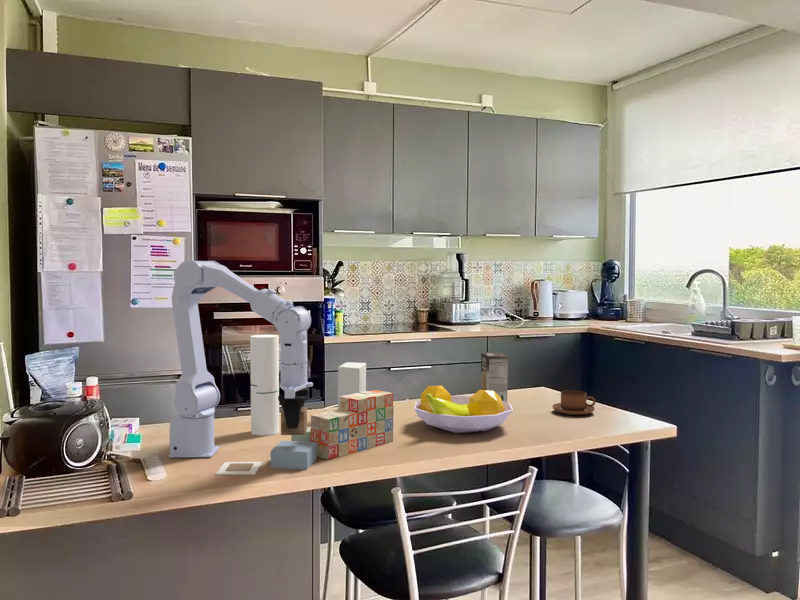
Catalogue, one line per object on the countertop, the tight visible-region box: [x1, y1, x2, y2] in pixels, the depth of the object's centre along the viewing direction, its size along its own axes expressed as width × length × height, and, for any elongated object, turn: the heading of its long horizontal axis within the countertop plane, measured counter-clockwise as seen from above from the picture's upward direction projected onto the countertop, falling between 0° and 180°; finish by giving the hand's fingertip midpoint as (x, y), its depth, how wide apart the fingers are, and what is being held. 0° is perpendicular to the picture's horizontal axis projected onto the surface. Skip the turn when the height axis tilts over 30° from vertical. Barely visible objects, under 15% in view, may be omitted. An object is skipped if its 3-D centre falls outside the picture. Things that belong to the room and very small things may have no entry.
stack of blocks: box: [310, 389, 394, 460], centre depth 154 cm, size 21×6×12 cm, turn 138°
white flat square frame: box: [215, 461, 263, 476], centre depth 138 cm, size 8×8×1 cm
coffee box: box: [480, 351, 509, 403], centre depth 201 cm, size 9×6×16 cm
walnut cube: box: [280, 406, 308, 436], centre depth 141 cm, size 5×5×5 cm
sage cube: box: [290, 426, 311, 442], centre depth 152 cm, size 5×5×5 cm
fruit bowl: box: [413, 385, 514, 434], centre depth 174 cm, size 28×27×11 cm
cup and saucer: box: [552, 389, 597, 416], centre depth 192 cm, size 12×12×6 cm
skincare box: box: [337, 361, 367, 410], centre depth 183 cm, size 8×7×16 cm
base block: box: [270, 440, 318, 470], centre depth 142 cm, size 8×8×4 cm
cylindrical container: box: [249, 334, 280, 437], centre depth 168 cm, size 7×7×25 cm
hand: (294, 425), depth 141 cm, fingers closed on walnut cube, 5 cm apart
